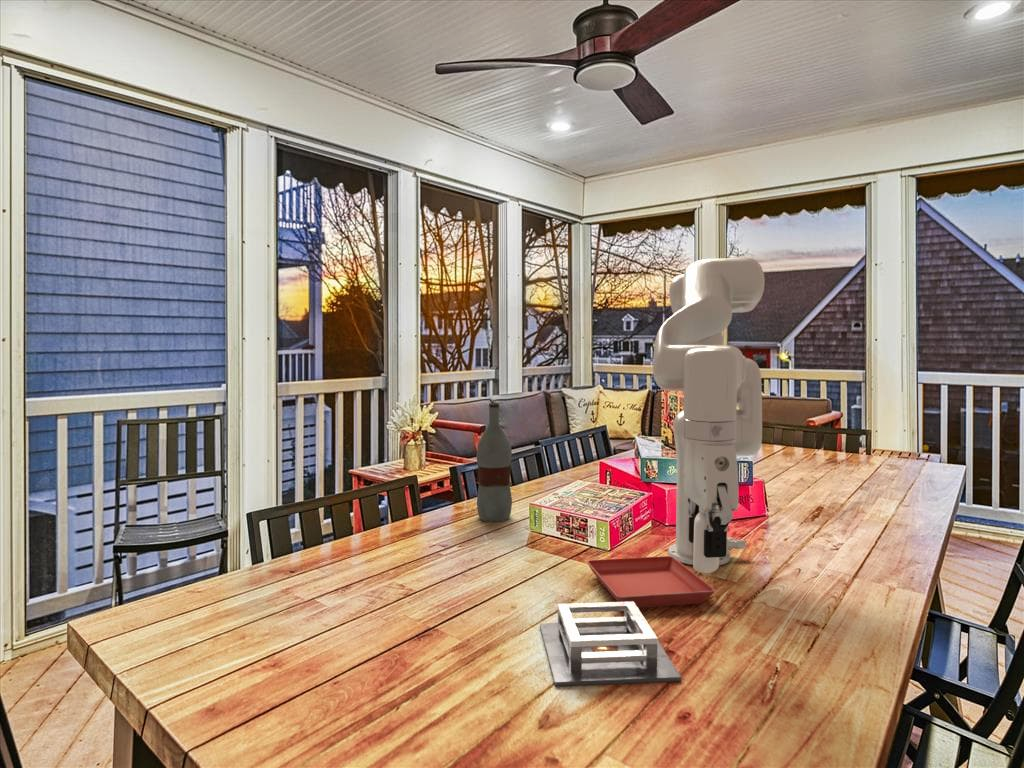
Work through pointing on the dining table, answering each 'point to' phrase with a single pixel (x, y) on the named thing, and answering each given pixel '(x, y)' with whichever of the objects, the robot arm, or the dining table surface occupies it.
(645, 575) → the plant saucer
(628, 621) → the collar stand
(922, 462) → the dining table surface
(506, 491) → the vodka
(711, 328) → the robot arm
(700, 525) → the eye dropper bottle
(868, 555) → the dining table surface
